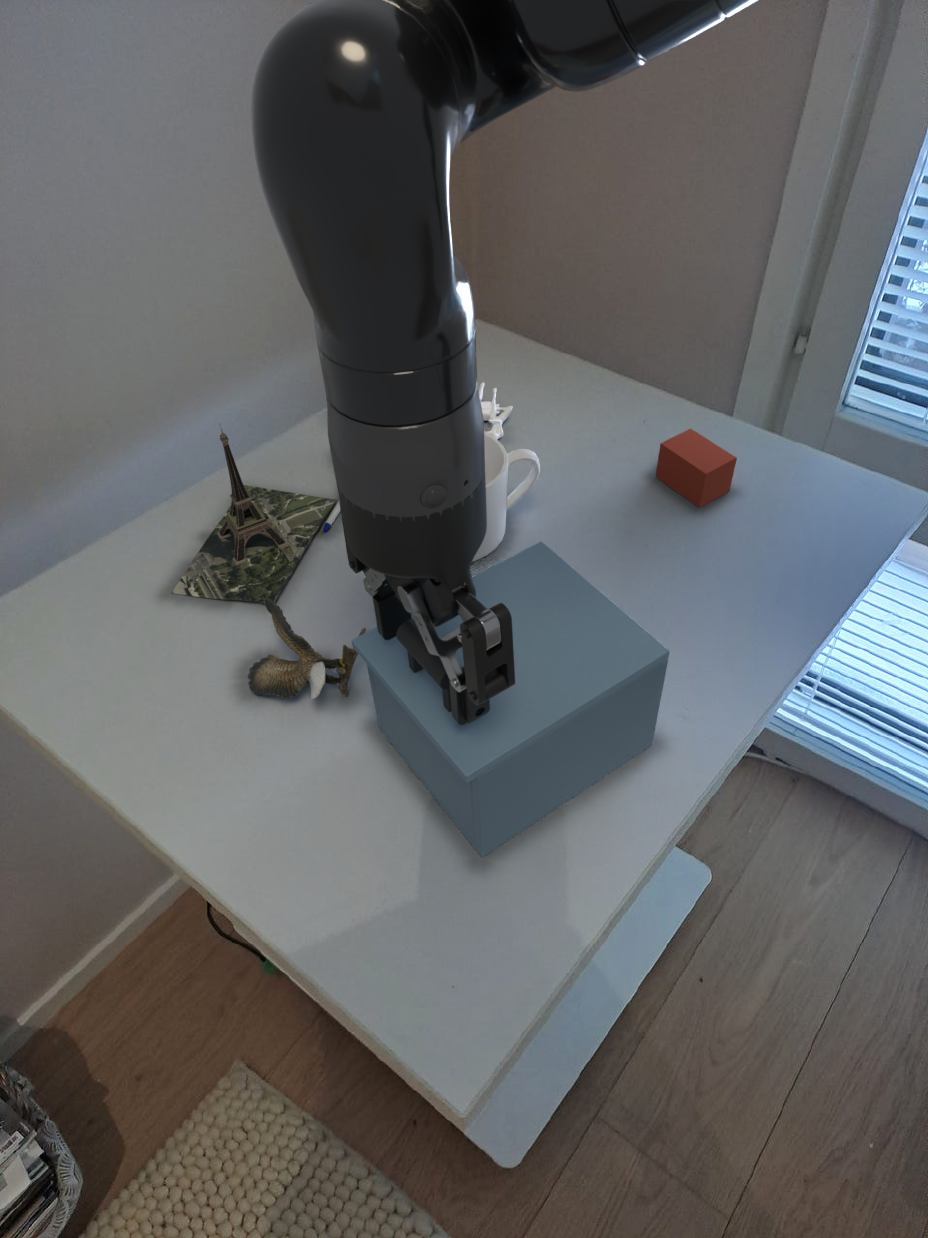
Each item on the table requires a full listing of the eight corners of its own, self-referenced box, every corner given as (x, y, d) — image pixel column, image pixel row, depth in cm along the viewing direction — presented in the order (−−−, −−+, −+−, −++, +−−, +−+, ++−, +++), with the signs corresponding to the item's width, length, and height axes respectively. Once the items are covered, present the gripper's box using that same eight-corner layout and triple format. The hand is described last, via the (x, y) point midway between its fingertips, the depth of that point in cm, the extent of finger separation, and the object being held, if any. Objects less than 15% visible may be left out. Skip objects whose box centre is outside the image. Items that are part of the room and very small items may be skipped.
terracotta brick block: (729, 491, 86) (737, 457, 83) (699, 507, 85) (706, 473, 82) (685, 461, 90) (690, 427, 87) (655, 476, 88) (660, 443, 85)
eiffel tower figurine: (276, 611, 78) (241, 489, 68) (171, 593, 80) (123, 472, 70) (337, 502, 88) (314, 383, 78) (242, 489, 90) (209, 370, 80)
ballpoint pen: (360, 466, 92) (358, 458, 91) (368, 467, 91) (366, 459, 91) (322, 533, 85) (320, 525, 84) (331, 534, 84) (329, 526, 84)
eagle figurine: (375, 635, 74) (274, 601, 75) (361, 622, 67) (249, 585, 68) (343, 723, 73) (241, 687, 74) (325, 720, 66) (213, 680, 67)
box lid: (466, 784, 53) (462, 734, 50) (352, 647, 61) (342, 596, 58) (668, 658, 59) (678, 605, 56) (541, 548, 67) (542, 496, 64)
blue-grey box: (481, 858, 61) (477, 778, 54) (378, 727, 69) (362, 642, 62) (652, 744, 67) (668, 658, 60) (538, 636, 75) (541, 548, 67)
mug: (403, 576, 80) (394, 505, 74) (391, 502, 87) (383, 432, 81) (550, 556, 81) (553, 485, 75) (527, 484, 88) (528, 414, 82)
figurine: (511, 450, 93) (434, 447, 93) (511, 406, 98) (438, 403, 98) (513, 426, 91) (433, 423, 91) (512, 382, 96) (437, 379, 96)
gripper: (559, 506, 42) (549, 716, 54) (397, 376, 50) (419, 583, 62) (425, 574, 39) (445, 779, 51) (277, 424, 47) (324, 631, 59)
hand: (431, 671), depth 57 cm, fingers open, 8 cm apart
